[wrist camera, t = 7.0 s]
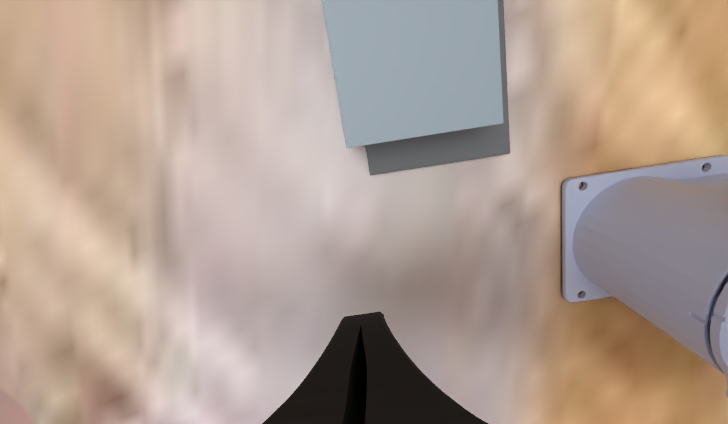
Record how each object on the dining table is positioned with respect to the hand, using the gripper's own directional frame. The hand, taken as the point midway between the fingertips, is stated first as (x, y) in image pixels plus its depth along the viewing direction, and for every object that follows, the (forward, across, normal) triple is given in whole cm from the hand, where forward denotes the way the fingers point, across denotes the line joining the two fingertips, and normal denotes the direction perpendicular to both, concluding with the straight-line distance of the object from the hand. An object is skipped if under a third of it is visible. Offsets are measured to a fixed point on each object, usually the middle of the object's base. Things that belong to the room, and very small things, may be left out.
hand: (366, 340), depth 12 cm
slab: (+8, 0, -11) cm, 13 cm away
